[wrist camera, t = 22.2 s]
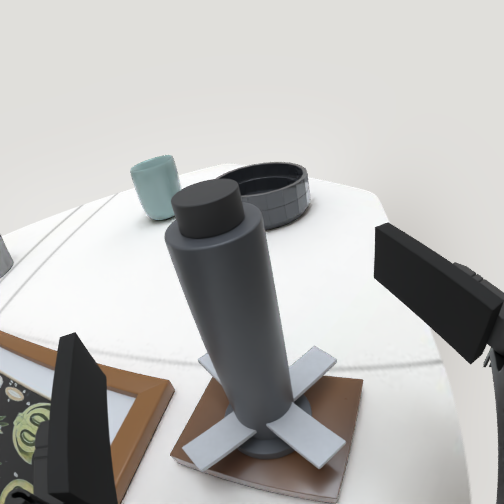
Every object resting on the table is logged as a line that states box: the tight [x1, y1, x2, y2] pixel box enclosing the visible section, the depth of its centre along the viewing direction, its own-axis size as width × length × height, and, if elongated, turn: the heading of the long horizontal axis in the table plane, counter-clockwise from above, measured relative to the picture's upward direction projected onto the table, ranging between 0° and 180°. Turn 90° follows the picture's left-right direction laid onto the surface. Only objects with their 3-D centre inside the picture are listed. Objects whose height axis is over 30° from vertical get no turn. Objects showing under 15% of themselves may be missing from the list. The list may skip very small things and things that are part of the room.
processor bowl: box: [216, 162, 310, 230], centre depth 49 cm, size 15×15×6 cm
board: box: [170, 376, 363, 503], centre depth 19 cm, size 11×9×2 cm
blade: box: [165, 179, 346, 472], centre depth 15 cm, size 11×11×16 cm
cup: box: [130, 155, 182, 220], centre depth 54 cm, size 8×8×10 cm
